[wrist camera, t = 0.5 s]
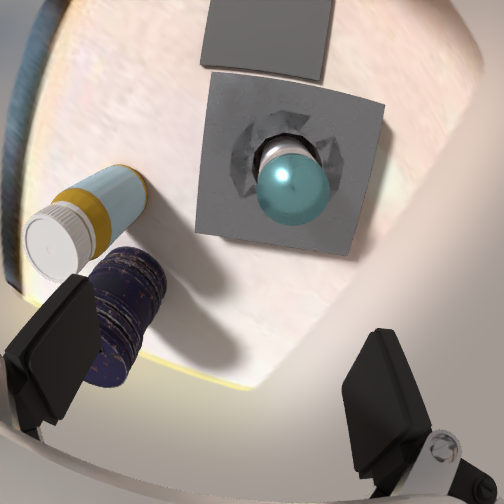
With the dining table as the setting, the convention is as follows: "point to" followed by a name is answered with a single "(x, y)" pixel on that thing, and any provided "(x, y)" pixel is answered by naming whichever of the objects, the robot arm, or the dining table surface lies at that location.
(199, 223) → the housing
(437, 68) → the dining table surface
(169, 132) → the dining table surface
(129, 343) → the storage jar
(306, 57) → the mat
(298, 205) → the plug
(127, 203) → the bottle
